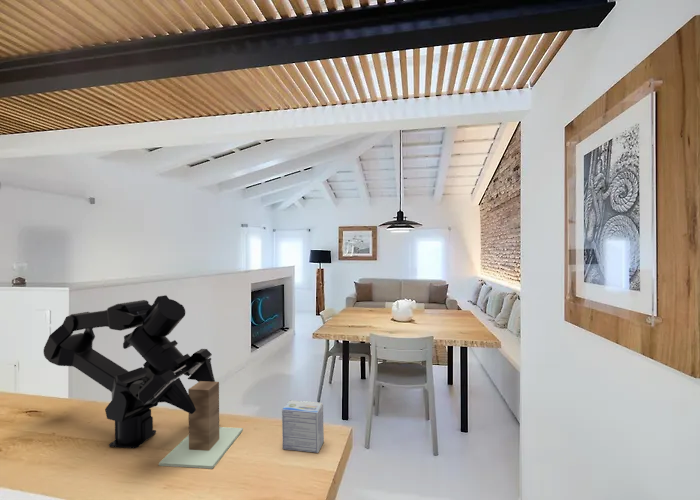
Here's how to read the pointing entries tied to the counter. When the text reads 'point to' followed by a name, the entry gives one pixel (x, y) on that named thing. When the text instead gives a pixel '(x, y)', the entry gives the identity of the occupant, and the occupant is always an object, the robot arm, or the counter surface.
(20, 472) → the counter surface
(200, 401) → the walnut block
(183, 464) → the rubber mat
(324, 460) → the counter surface
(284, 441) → the medicine box
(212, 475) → the counter surface
